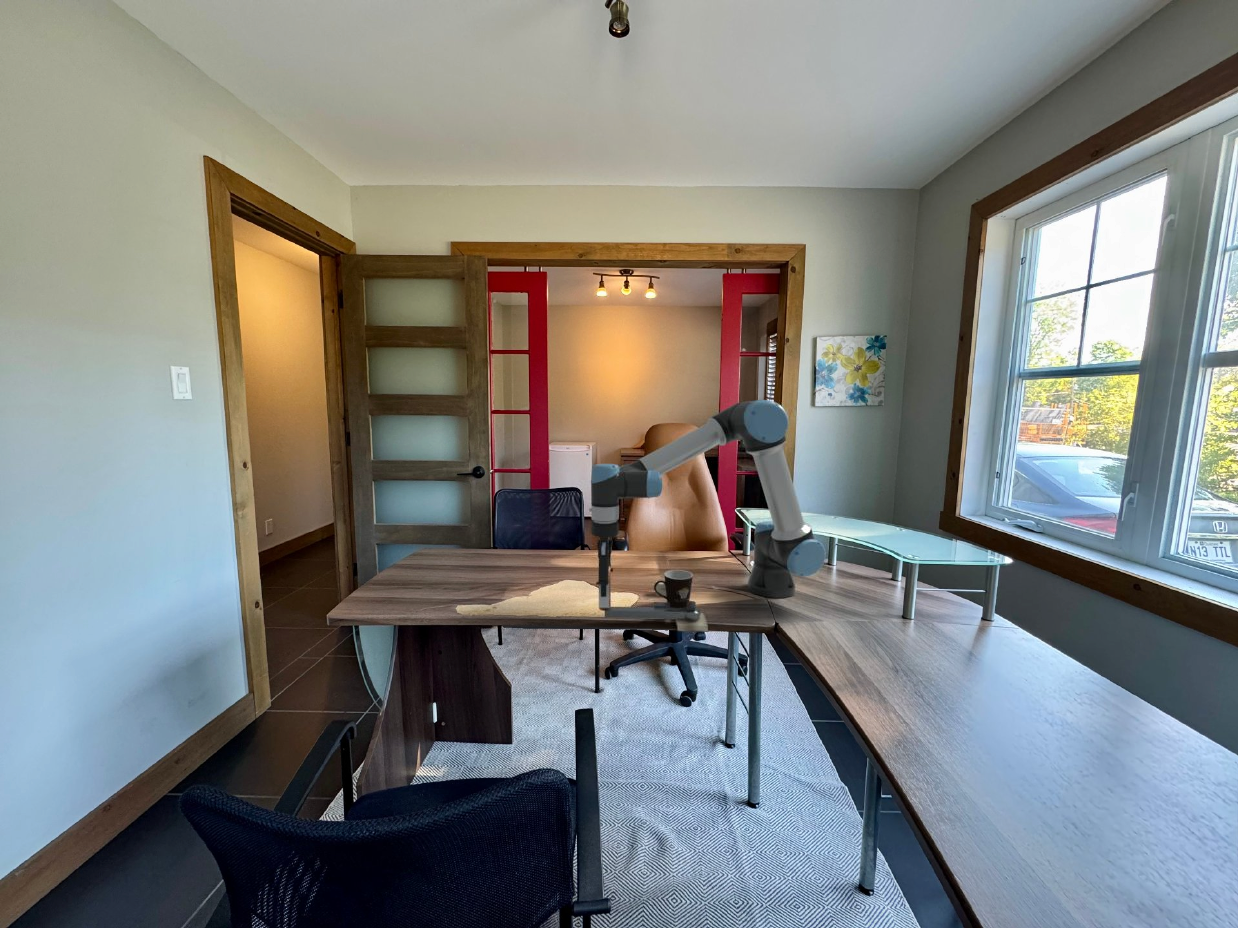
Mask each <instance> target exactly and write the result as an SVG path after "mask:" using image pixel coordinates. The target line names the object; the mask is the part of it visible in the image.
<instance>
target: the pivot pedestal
mask: <svg viewBox="0 0 1238 928" xmlns="http://www.w3.org/2000/svg"><path fill="white" fill-rule="evenodd" d="M695 607H696V602H695V600H694V601H693V600H689V601H688V602H687V610H689V611H695ZM675 623H676V628H677V632H709V629H708V628H709V625H708V623H707V619H706V616H705V614H704V613H701V612H700V619H699V620H696V621H689V620H686V619H675Z"/></svg>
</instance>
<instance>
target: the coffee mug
mask: <svg viewBox="0 0 1238 928" xmlns="http://www.w3.org/2000/svg"><path fill="white" fill-rule="evenodd" d="M663 576H664V577H663V578H664V580H661V579H660V580H656V581H657V582H656V583H654V586H653V590H654V591H655V592H656V593H657V594H658V595H660V596H659V597H662V598H664V599H666V602H669V603H670V608H685V607H687V602H688V601H691V600H690V598H691V591H692V585H693V577H694V574H693V573H692V572H691V571H688V570H683V569H670V570H667V571H665V572H664V575H663ZM658 583H664V584H665V587H666V596H663V595H662V594H660V593H658V591H657V590H656V586H657V584H658ZM655 592H654V593H655Z"/></svg>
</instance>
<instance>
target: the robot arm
mask: <svg viewBox="0 0 1238 928" xmlns="http://www.w3.org/2000/svg"><path fill="white" fill-rule="evenodd" d="M788 428H789V416H788V414H787V412H786V410H785V409H784V408H783V406H781V404H779V403H777V402H775V401H773V400H772V401H771V400H768V399H767V400H766V399H757V400H748V401H739V402H737V403H735V404H732V405H731V406H729V407H727V408H725V409H723V410H722V411H720V412H718V413H716V414H715V415H713V416H712V417H710V418H708V419H707V423H705V424H703V425H700V426H699V427H698V428H696V429H694V430H692V431H690V432H688V433H686V434H684V435H683V436H681V437H678V438H677V439H675V440H673V441H671V442H669V443H667V444H666V445H664V446H661V447H660V448H658V449H656V450H654V451H652V452H651V453H649V454H646V455H645V456H643V457H641V458H639V459H638V460H635V461H633V462H632V463H630V464H624V465H621V466H619V465H618V464H616V463H597V464H594V465H593V466H592V468H591V477H590V497H591V498H590V501H591V502H590V504H591V507H590V508H588V511H589V512H590V513H591V520H592V521H591V524H590V526H591V527H590V529H591V531H590V532H591V533H590V534H591V535H592V536H594V537H597V538H599V539H598V540H597V543H596V544H597V547H596V548H597V558H598V580H597V581H596V582H595V584H596V585H598V609H599V608H609V582H608V572H609V566H611V573H613V572H614V568H613V567H612V562H611V560H612V559H611V556H612V548H613V540H612V538H614V537H617V536H618V534H620V533H619V527H620V526H619V523H620V522H619V521H618V520H619V518H620V516H619V515H620V505H619V504H620V503H619V501H620V500H621V499H623V500H624V499H650V498H658V497H660V496H661V494H662V493H663V492H662V491H663V477H662V476H663V475H665V474H666V473H668V472H670V471H671V470H674V469H676V468H677V467H680V466H682V465H683V464H686V463H687V462H688V461H691V460H692V459H694V458H696V457H698V456H700V455H702V454H703V453H705V452H707V451H709V450H711V449H713V448H714V447H716V446H725V445H727V444H728V443H732V442H736V441H741V440H742V442H743V445H744V448H745V453H747V454H749V455H752V458H753V460H754V463H755V464H754V465H755V468H756V471H757V474H758V477H759V480H760V483H761V484H760V485H761V487H762V490H763V494H764V497H765V501H766V503H767V507H768V511H769V515H770V518H771V521H759V522H757V523H756V525H755V528H754V533H753V534H754V550H753V551H754V553H753V555H754V556H753V567H752V569H751V571H750V574H749V577H748V581H747V589H748V590H749V591H750V592H752V593H753V594H756V595H759V596H762V597H768V598H775V599H777V598H779V599H780V598H781V599H783V598H789V597H792V596H794V595H796V583H795V580H794V576H793V575H796V576H799V577H805V578H806V577H810V576H812V575H815V574H816V573H818V571H819V570H820V569H821V568H822V567H823V564H824V563H825V560H826V555H827V554H826V549H825V546H824V545H823V544H822V543H821V542H820V541H819V540H817V539H815V536H814V533H813V529H812V526H811V524H809V523H807V522H805V521H804V518H803V514H802V511H801V508H800V504H799V500H798V497H797V493H796V490H795V485H794V483H793V479H792V476H791V473H790V469H789V466H788V462H787V458H786V455H785V451H784V446H785V445H786V443H787V439H786V434H787V429H788ZM619 499H620V500H619Z"/></svg>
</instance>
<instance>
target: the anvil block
mask: <svg viewBox="0 0 1238 928" xmlns="http://www.w3.org/2000/svg"><path fill="white" fill-rule="evenodd" d="M657 581H658V580H656V581H655V583H656V582H657ZM655 583H654V584H655ZM656 590H657V591H658V593H660V594H662V595H663V596H665V597H667V596H666V587H665V584H664V583H658V584H657V586H656ZM654 595H655V597H661V596H660V595H658V594H657V593H656V592H654Z"/></svg>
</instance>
